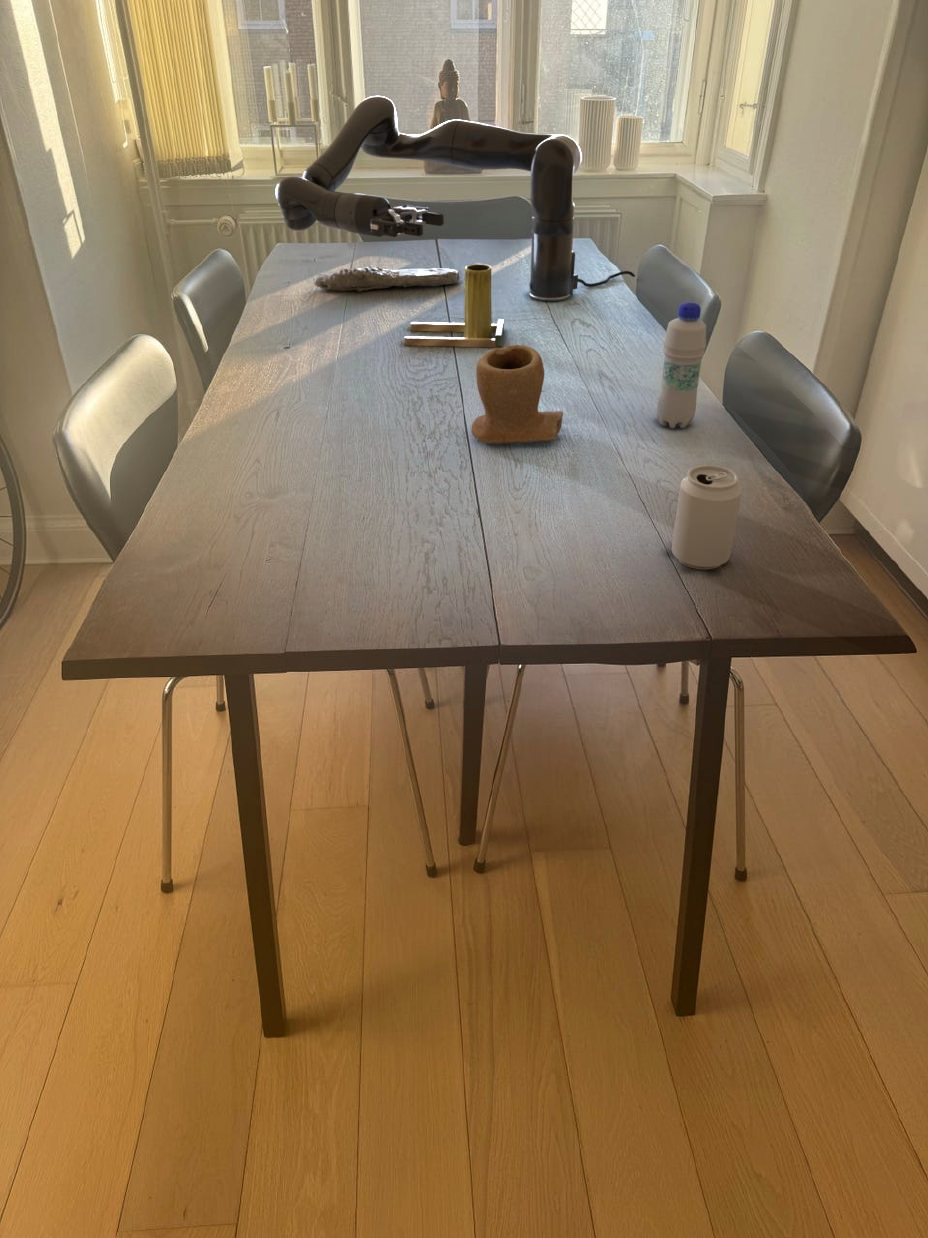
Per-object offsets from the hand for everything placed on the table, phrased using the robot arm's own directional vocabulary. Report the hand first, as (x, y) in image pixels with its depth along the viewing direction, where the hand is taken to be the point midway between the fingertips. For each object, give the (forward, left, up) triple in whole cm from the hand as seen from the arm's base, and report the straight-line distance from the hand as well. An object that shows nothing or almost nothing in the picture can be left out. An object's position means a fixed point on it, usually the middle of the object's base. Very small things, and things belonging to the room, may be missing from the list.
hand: (432, 224), depth 187 cm
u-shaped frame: (0, +6, -21) cm, 22 cm away
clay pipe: (+21, +53, -21) cm, 61 cm away
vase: (-4, +9, -21) cm, 24 cm away
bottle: (-4, +64, -21) cm, 67 cm away
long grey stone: (-11, -34, -21) cm, 41 cm away
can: (+26, +96, -21) cm, 102 cm away
